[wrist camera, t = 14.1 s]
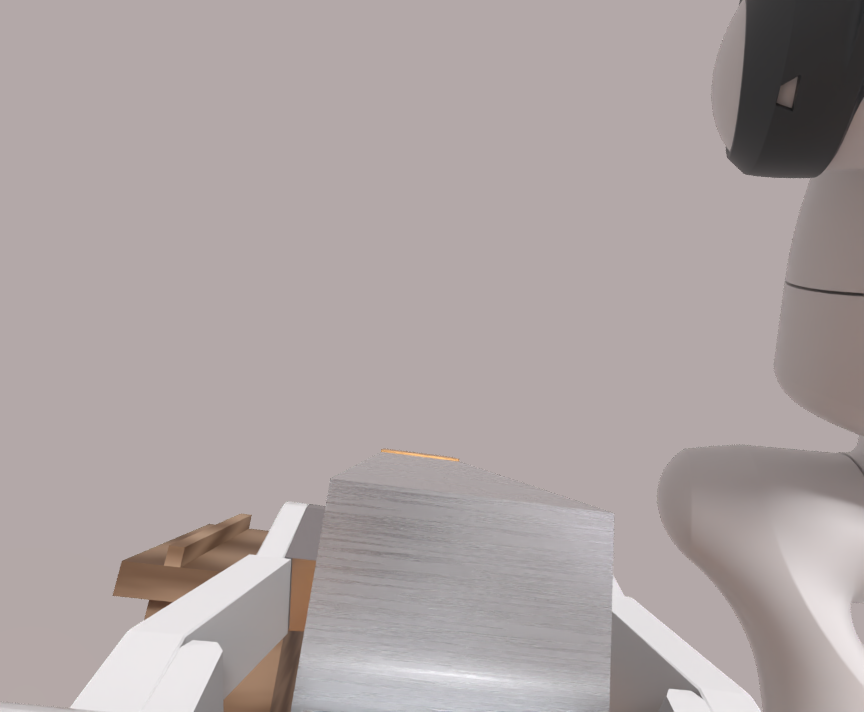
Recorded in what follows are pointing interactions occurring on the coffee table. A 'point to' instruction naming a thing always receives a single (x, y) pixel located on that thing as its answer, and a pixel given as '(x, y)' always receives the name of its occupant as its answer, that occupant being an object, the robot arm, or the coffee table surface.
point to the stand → (192, 566)
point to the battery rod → (456, 594)
